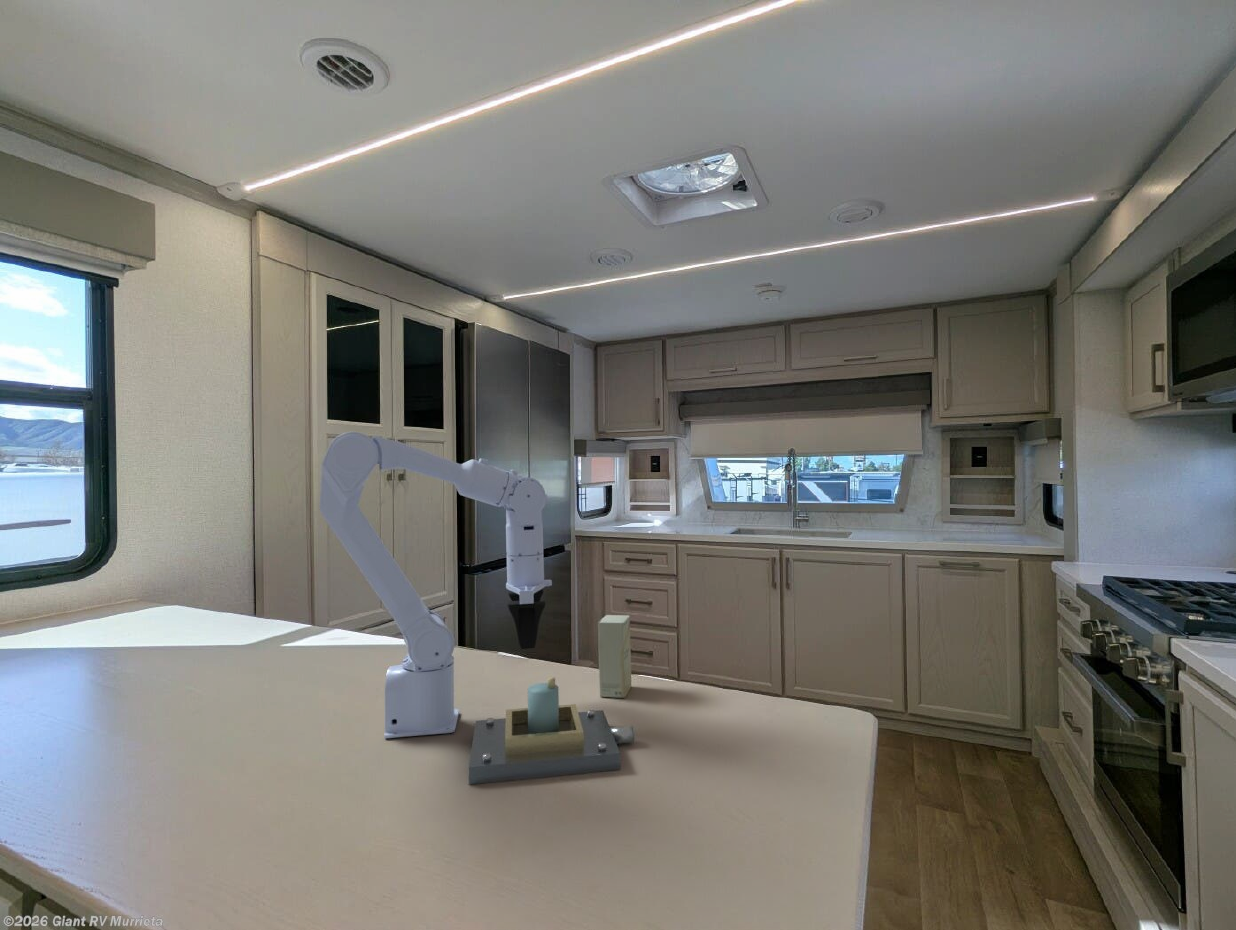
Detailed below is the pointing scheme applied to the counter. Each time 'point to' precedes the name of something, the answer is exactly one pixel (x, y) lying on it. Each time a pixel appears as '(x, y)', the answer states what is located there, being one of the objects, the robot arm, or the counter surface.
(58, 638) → the counter surface
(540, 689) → the spout can
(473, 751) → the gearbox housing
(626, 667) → the skincare box
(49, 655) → the counter surface
